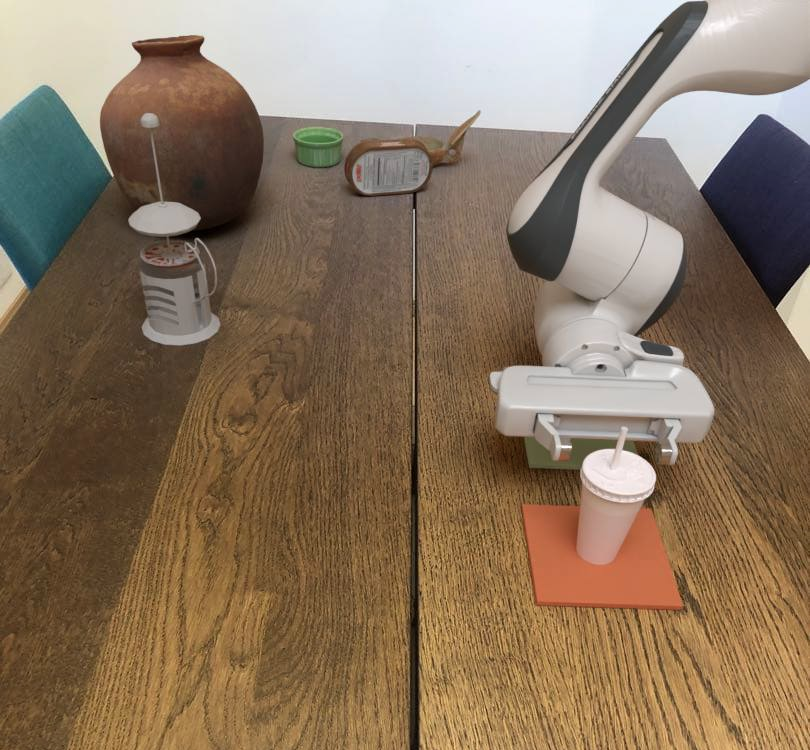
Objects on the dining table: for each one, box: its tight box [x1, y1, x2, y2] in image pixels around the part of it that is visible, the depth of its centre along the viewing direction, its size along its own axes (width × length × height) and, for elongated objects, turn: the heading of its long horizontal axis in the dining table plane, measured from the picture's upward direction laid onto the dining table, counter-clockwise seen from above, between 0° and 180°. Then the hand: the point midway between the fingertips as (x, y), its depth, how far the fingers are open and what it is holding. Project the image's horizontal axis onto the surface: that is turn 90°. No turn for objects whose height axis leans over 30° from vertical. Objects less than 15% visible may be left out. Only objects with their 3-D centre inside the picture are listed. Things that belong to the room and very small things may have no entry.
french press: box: [128, 113, 221, 346], centre depth 95 cm, size 10×12×25 cm
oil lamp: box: [359, 109, 481, 167], centre depth 147 cm, size 9×21×10 cm, turn 80°
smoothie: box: [576, 427, 657, 565], centre depth 72 cm, size 6×6×14 cm
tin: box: [343, 138, 434, 197], centre depth 136 cm, size 15×3×8 cm, turn 108°
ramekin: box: [292, 126, 344, 169], centre depth 148 cm, size 9×9×4 cm
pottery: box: [99, 34, 265, 232], centre depth 119 cm, size 23×23×25 cm
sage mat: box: [523, 437, 639, 471], centre depth 91 cm, size 12×12×1 cm
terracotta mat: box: [520, 503, 684, 611], centre depth 77 cm, size 13×13×1 cm
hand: (615, 457), depth 72 cm, fingers open, 8 cm apart
